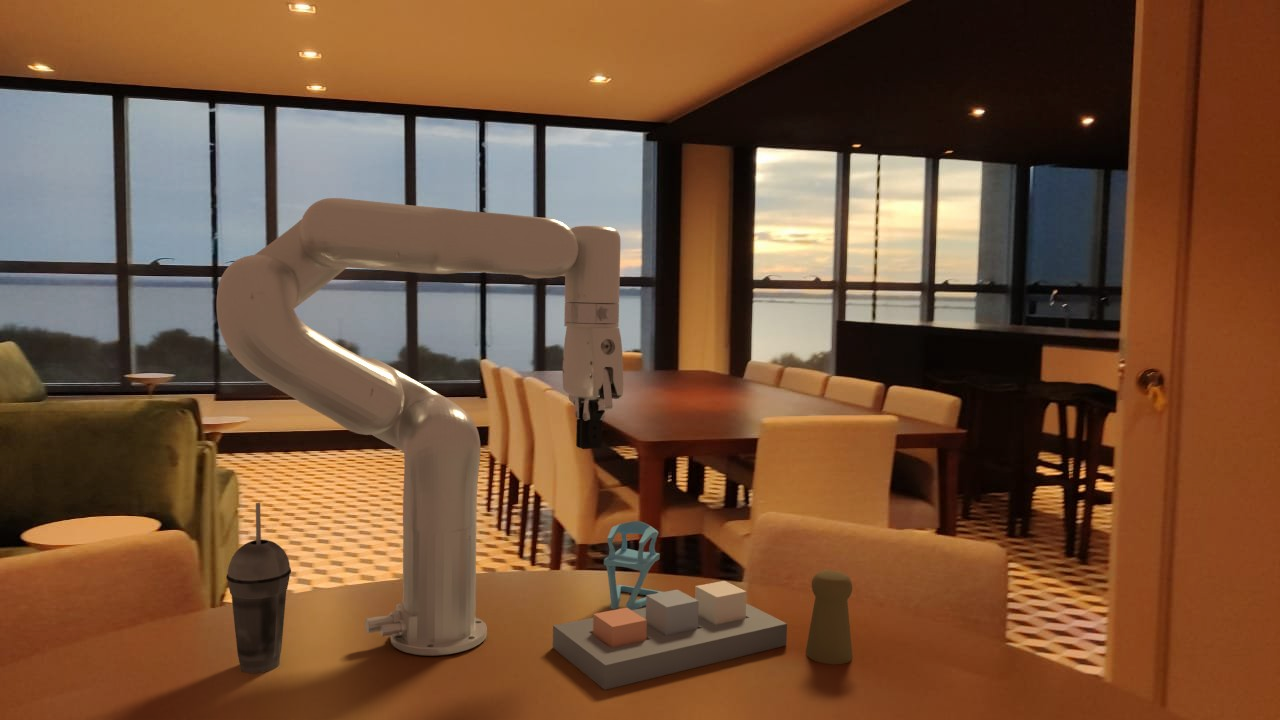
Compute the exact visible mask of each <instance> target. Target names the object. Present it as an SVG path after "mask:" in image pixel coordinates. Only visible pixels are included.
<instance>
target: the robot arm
mask: <svg viewBox="0 0 1280 720" xmlns="http://www.w3.org/2000/svg"><path fill="white" fill-rule="evenodd" d="M347 268H355V269H368V270H378V271H379V270H380V271H381V270H382V271H393V272H405V273H407V272H409V273H418V274H419V273H420V274H430V275H431V274H433V275H434V274H436V275H437V274H438V275H450V274H451V275H452V274H458V273H459V274H460V273H462V274H463V273H484V274H485V273H487V274H503V275H504V274H505V275H516V276H523V277H526V278H529V279H552V278H553V279H554V278H558V277H564V278H565V279H564V280H565V282H564V327H566V328H565V330H566V331H565V337H564V344H563V354H562V355H563V356H562V357H563V358H562V388H563V390H564V392H565V393H566V394H568V400H569V401H570V402H571V404H573V406H574V413H575V414H574V416H575V418H576V433H575V435H576V436H575V437H576V440H575V444H576V447H577V448H579V449H582V450H591V449H600V448H601V447H602V446H603V445H602V443H603V442H602V441H603V439H602V438H603V420H604V419H605V415H606V413H605V412H606V411H608V410H611V409H613V399H614V400H617V399H618V400H619V399H621V398H622V397H623V396H624V395H623V394H624V361H623V359H624V358H623V345H622V337H621V331H620V328H619V326H620V325H619V321H620V318H619V316H620V287H621V286H620V282H621V281H620V280H621V279H620V276H621V274H620V273H621V236H620V233H619V232H618V230H617V229H615V228H613V227H609V226H602V225H600V226H599V225H579V226H578V225H577V226H574V227H571V228H570V227H569V226H567V225H566V224H565V223H564V222H562V221H561V220H557V219H552V218H548V217H538V216H531V215H530V216H528V215H518V214H510V213H509V214H508V213H497V212H485V211H483V212H482V211H471V210H470V211H469V210H462V209H456V208H455V209H454V208H445V207H433V206H423V205H422V206H421V205H411V204H410V205H409V204H402V203H401V204H400V203H390V202H382V201H381V202H380V201H373V200H365V199H364V200H361V199H353V198H352V199H351V198H342V197H329V198H323V199H320V200H318V201H316V202H314V203H312V204H311V205H309V207H308V208H307V209H306V210H305V212H304V214H303V215H302V218H301V219H300V220H299V221H298V222H296V223H295V224H294V225H292V226H291V227H290V228H289V229H288V230H286V231H284V233H282V234H281V235H280V236H279V237H277V238H275V239H274V240H273V241H272V242H270V243H269V244H268V245H266V246H265V247H263V248H262V249H260V250H259V251H258V252H256V253H255V254H252V255H247V256H246V255H245V256H243V257H241V258H238V259H236V260H235V261H232V263H231V264H230V265H229V266H227V268H226V269H225V270H224V272H223V274H222V275H221V277H220V279H219V283H218V287H217V294H216V317H217V323H218V328H219V331H220V333H221V336H222V339H223V341H224V343H225V345H226V347H227V349H228V350H229V352H230V353H231V354H232V356H233V357H234V358H235V359H236V360H237V362H238V363H239V364H240V365H242V367H244V368H245V369H246V370H247V371H249V373H251V374H252V375H254V376H255V377H257V378H258V379H259V380H261V381H264V382H265V383H266V384H267V385H269V386H272V387H273V388H276V389H278V390H279V391H280V392H282V393H284V394H286V395H288V396H289V397H291V398H292V399H294V400H296V401H298V402H299V403H301V404H303V405H304V406H307V407H308V408H311V409H313V410H314V411H316V412H317V413H320V414H321V415H323V416H325V417H326V418H328V419H330V420H332V421H333V422H335V423H336V424H338V425H340V426H341V427H342V428H345V429H346V430H347V431H349V432H352V433H354V434H359V435H365V436H368V435H369V436H371V435H372V436H373V437H375V438H377V439H379V440H381V441H382V442H385V443H386V444H388V445H390V446H392V447H393V448H395V449H398V450H400V451H402V452H403V455H404V456H403V459H404V462H403V463H404V468H403V469H404V473H403V492H402V495H403V496H402V528H403V530H402V602H401V603H396V605H395V611H390V612H389V614H388V615H381V616H380V615H378V616H372V617H366V618H365V621H364V626H365V627H364V628H365V632H366V634H372V633H377V632H379V633H380V635H381V637H385V636H389V637H390V644H391V645H392V646H393V647H394V648H396V649H397V650H399V651H400V652H403V653H407V654H411V655H415V656H445V655H446V656H447V655H452V654H458V653H461V652H465V651H468V650H470V649H473V648H475V647H477V646H478V645H480V644H482V642H484V641H485V640H486V638H487V636H488V626H487V624H486V623H485V621H483V620H482V619H481V618H479V617H476V598H477V597H476V595H477V594H476V593H477V592H476V590H477V587H476V586H477V583H476V582H477V503H478V501H477V500H478V497H477V496H478V483H479V473H480V461H481V440H480V439H481V438H480V434H479V430H478V428H477V425H476V423H475V421H474V419H472V417H471V416H470V415H469V414H468V413H467V412H466V410H464V409H463V408H462V407H460V406H459V405H457V403H455V402H454V401H453V400H450V399H449V398H448V397H446V396H444V395H441V394H440V393H438V392H437V391H434V390H432V388H429V387H428V386H426V385H424V384H422V383H421V382H420V381H419V382H418V380H416V379H413V378H411V376H408V375H407V374H405V373H403V372H401V371H399V369H396V368H394V367H392V366H391V365H389V364H387V363H385V362H383V361H381V360H379V359H377V358H373V357H367V356H366V357H364V356H363V357H362V356H360V355H358V354H357V353H354V352H353V351H350V350H349V349H347V348H345V347H343V346H341V345H339V344H338V343H336V341H335V342H334V340H331V339H330V338H329V337H327V336H325V335H323V334H322V333H320V332H318V331H316V330H314V329H313V328H311V327H309V325H307V324H305V323H304V322H303V321H302V320H301V318H299V316H298V315H297V314H296V311H295V309H296V308H297V307H298V306H300V305H301V304H302V303H304V302H305V301H306V300H307V299H308V298H310V297H311V296H312V295H314V294H316V292H318V291H319V290H321V289H322V288H323V287H324V286H326V285H327V284H328V283H330V282H331V281H332V280H333V279H335V278H336V277H337V276H339V275H340V274H341V273H342V272H344V270H346V269H347Z"/></svg>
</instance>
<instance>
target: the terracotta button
mask: <svg viewBox="0 0 1280 720" xmlns="http://www.w3.org/2000/svg"><path fill="white" fill-rule="evenodd" d="M592 618H593V635H594V636H595V637H597V638H598V639H599V640H601V641H602V642H604V643H605V644H606V645H608V646H609V647H611V648H613V647H617V646H622V645H626V644H631V643H635V642H640V641H645V640H646V633H647V620H646V619H644V618H643V617H641V616H640V615H638V614H636V613H635V612H633V611H632V610H630V609H628V608H626V607H623V608H616V609H610V610H607V611H602V612H601V611H600V612H595V613H593V616H592Z"/></svg>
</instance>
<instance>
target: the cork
mask: <svg viewBox="0 0 1280 720" xmlns="http://www.w3.org/2000/svg"><path fill="white" fill-rule="evenodd" d="M811 591H812V593H813V595H814V596H815V597H814V602H813V603H814V604H813V608H812V614H811V620H810V624H809V625H810V626H809V631H808V635H807V636H808V638H807V642H806V648H805V655H806V656H807V657H808V658H809V659H811V660H813V661H814V662H818V663H820V664H828V665H843V664H846V663H847V664H848V663H850V662H851V661H852V660H853V649H852V638H851V635H852V634H851V625H850V614H849V602H848V600H849V599H850V597H851V595H852V593H853V582H852V580H851V578H850V576H849V575H848V574H846V573H844V572H841V571H838V570H832V569H831V570H830V569H829V570H828V569H827V570H821V571H818V572H816V573H815V574H814V576H813V578H812V580H811Z"/></svg>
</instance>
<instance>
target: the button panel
mask: <svg viewBox="0 0 1280 720" xmlns="http://www.w3.org/2000/svg"><path fill="white" fill-rule="evenodd" d="M693 598H694V599H695V597H693ZM632 611H633V612H635V613H636V614H638V615H640V616H641V617H643V618H644V619H646V606H644V607H640V608H638V609H635V610H632ZM787 634H788V623H786V622H785V621H783V620H781V619H779V618H777V617H775V616H773V615H771V614H769V613H766V612H764V611H763V610H761V609H759V608H757V607H755V606H753V605H750V604H749V603H747V602H746V619H741V620H736V621H732V622H727V623H723V624H718V625H714V624H713V623H711V622H709V621H707V620H706V619H704V618H702V617H700V616H698V629H695V630H691V631H686V632H681V633H677V634H672V635H668V636H664V635H663V634H661V633H660V632H658V631H656V630H655V629H653V628H652V627H650V626H648V625H647V633H646V640H645V641H640V642H635V643H631V644H626V645H622V646H617V647H613V648H611V647H609V646H608V645H606V644H605V643H604V642H602V641H601V640H599V639H598V638H597V637H595V636H594V635H593V617H589V618H585V619H580V620H579V619H578V620H575V621H574V620H573V621H569V622H564V623H559V624H554V625H553V626H552V648H553V649H554V650H555V651H556V652H558V653H559V654H560V655H561V656H562V657H564V658H565V659H566V660H567V661H568V662H570V663H571V664H572V665H573V666H575V667H576V668H577V669H579V671H580V672H582V673H583V674H585V675H586V676H587V677H588V678H589V679H590V680H592V681H593V682H595V684H597V685H598V686H599V687H600V688H602V689H603V690H604V691H605V690H609V689H614V688H618V687H622V686H626V685H631V684H635V683H637V682H638V683H639V682H643V681H646V680H650V679H654V678H659V677H662V676H666V675H671V674H675V673H679V672H684V671H687V670H690V669H691V670H692V669H696V668H700V667H704V666H707V665H711V664H716V663H720V662H724V661H727V660H728V661H729V660H733V659H735V658H740V657H741V658H742V657H743V656H748V655H752V654H756V653H761V652H764V651H768V650H773V649H776V648H781V647H785V646H787V638H788V637H787Z"/></svg>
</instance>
